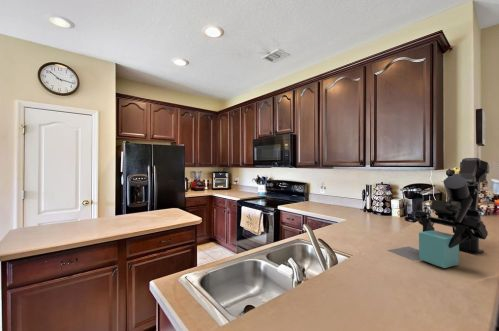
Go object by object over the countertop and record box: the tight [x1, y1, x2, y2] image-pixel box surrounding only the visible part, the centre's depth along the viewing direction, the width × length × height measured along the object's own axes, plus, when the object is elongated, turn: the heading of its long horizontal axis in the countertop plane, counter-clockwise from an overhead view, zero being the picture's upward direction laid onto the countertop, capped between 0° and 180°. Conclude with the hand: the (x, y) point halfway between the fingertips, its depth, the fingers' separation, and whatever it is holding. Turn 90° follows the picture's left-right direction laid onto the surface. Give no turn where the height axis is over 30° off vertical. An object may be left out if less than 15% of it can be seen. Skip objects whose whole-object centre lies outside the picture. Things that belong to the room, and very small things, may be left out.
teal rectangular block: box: [418, 229, 460, 269], centre depth 74 cm, size 7×7×9 cm
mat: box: [387, 246, 421, 262], centre depth 84 cm, size 12×10×1 cm
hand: (435, 243), depth 74 cm, fingers closed on teal rectangular block, 7 cm apart
